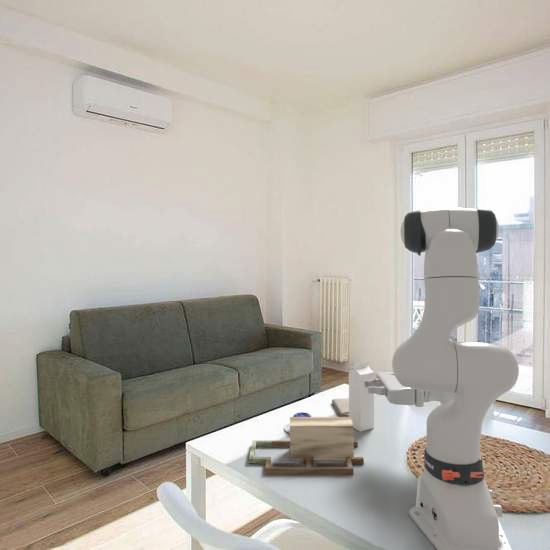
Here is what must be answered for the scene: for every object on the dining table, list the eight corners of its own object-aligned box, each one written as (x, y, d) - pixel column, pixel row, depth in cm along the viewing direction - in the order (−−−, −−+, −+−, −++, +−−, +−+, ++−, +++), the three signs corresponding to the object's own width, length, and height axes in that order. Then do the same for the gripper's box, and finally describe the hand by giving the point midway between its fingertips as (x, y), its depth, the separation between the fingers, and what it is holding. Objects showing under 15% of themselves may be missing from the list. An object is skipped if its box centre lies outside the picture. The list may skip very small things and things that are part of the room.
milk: (348, 426, 154) (347, 361, 154) (362, 422, 157) (361, 359, 157) (360, 432, 149) (359, 365, 148) (374, 428, 152) (373, 363, 151)
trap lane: (367, 474, 120) (367, 469, 120) (247, 474, 121) (246, 468, 121) (357, 445, 139) (357, 440, 139) (252, 445, 140) (252, 440, 140)
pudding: (279, 434, 149) (279, 418, 148) (291, 421, 160) (291, 407, 160) (314, 439, 144) (314, 423, 144) (324, 426, 155) (324, 411, 155)
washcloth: (341, 420, 161) (341, 412, 161) (330, 404, 179) (330, 396, 179) (374, 418, 162) (374, 410, 162) (360, 402, 180) (360, 395, 180)
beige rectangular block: (353, 460, 129) (353, 425, 129) (290, 460, 130) (290, 425, 129) (350, 449, 136) (350, 417, 136) (290, 449, 137) (290, 417, 136)
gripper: (405, 366, 141) (360, 366, 142) (424, 385, 121) (372, 386, 121) (405, 386, 142) (360, 386, 142) (424, 409, 121) (372, 409, 122)
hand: (365, 386), depth 132 cm, fingers open, 4 cm apart
